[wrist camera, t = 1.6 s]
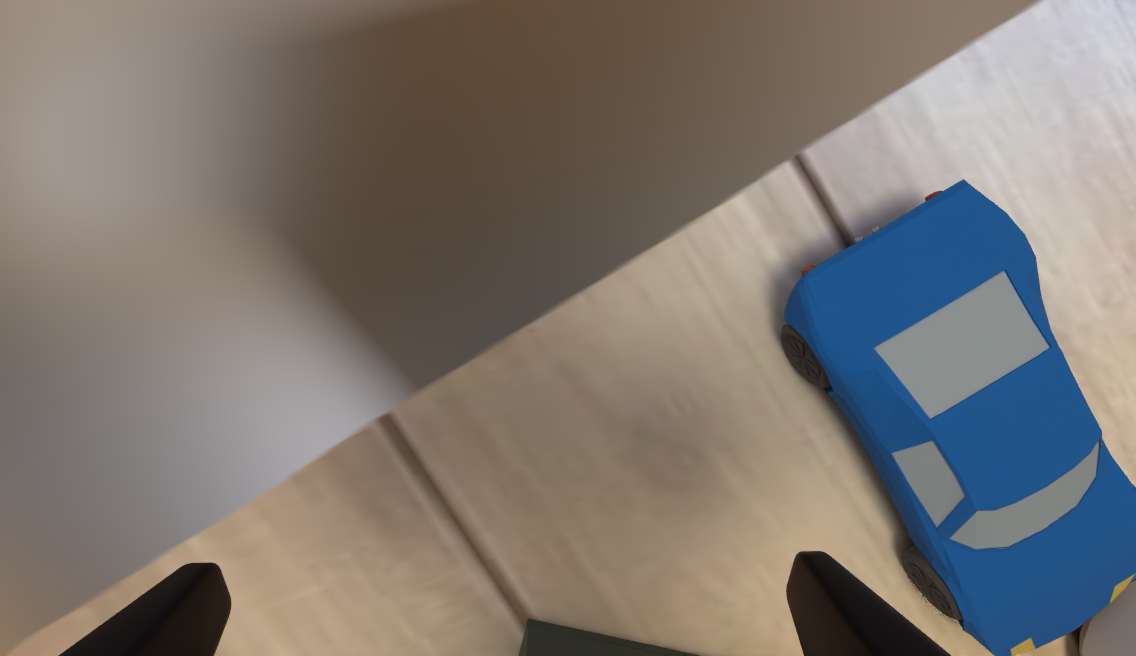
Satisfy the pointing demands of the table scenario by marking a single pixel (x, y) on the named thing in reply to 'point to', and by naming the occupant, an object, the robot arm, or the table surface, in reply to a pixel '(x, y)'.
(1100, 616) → the can
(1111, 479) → the toy car
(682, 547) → the table surface
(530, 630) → the tray
